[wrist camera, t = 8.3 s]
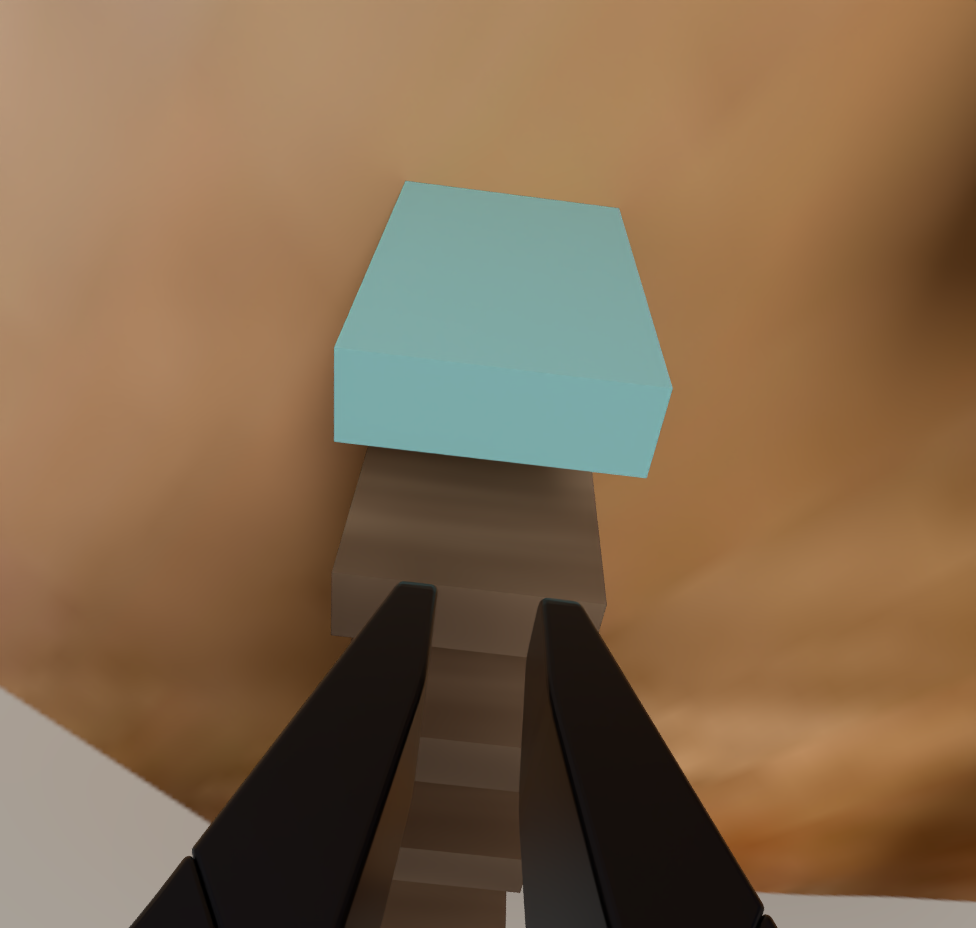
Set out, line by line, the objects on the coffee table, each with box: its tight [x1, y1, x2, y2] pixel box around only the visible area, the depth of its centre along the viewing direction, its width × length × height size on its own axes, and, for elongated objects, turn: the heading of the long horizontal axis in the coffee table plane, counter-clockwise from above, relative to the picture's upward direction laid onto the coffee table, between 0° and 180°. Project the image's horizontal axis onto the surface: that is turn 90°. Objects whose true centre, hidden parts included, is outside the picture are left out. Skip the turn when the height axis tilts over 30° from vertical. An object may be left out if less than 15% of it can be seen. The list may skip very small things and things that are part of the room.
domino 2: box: [331, 446, 607, 657], centre depth 17 cm, size 2×5×8 cm, turn 83°
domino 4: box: [392, 781, 523, 893], centre depth 23 cm, size 2×5×8 cm, turn 82°
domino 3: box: [351, 638, 527, 792], centre depth 20 cm, size 2×5×8 cm, turn 83°
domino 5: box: [380, 880, 506, 928], centre depth 25 cm, size 2×5×8 cm, turn 83°
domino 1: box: [334, 181, 673, 478], centre depth 15 cm, size 2×5×8 cm, turn 83°
